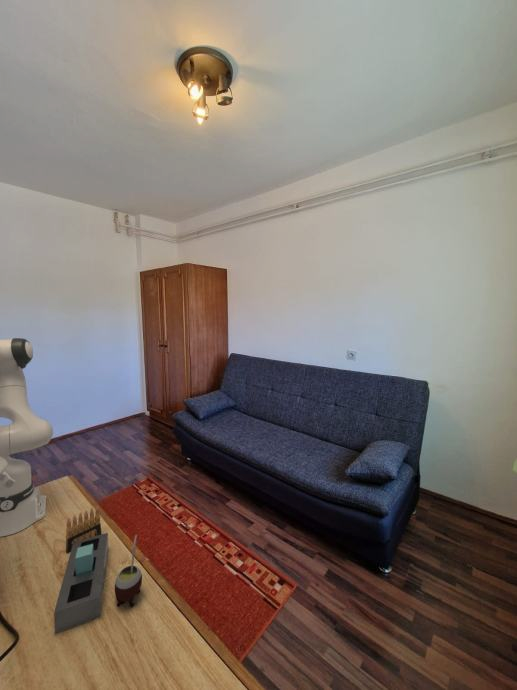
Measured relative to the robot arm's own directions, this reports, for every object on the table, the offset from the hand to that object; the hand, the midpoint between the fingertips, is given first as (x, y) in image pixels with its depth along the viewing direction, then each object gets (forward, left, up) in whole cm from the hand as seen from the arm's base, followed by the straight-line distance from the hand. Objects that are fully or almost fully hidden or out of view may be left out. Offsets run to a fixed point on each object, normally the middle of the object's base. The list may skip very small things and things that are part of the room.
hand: (5, 494), depth 75 cm
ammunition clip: (-15, +15, -32) cm, 38 cm away
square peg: (+3, +18, -30) cm, 36 cm away
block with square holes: (+3, +18, -31) cm, 36 cm away
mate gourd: (+12, +30, -32) cm, 45 cm away
